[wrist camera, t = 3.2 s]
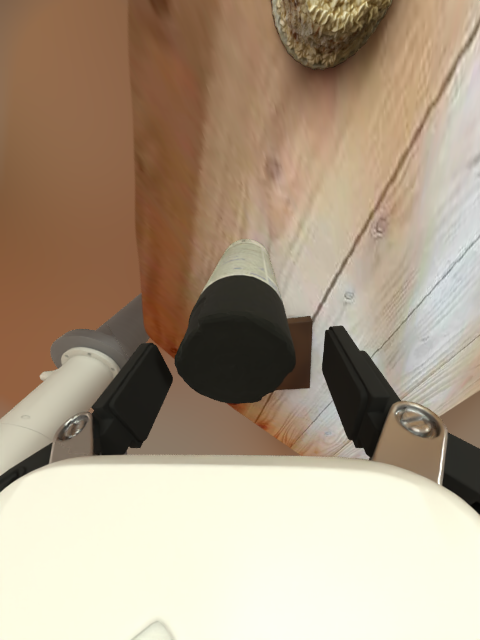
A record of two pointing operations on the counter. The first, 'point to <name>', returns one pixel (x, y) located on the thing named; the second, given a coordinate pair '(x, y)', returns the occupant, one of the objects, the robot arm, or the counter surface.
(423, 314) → the counter surface
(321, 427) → the counter surface
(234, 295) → the spray can
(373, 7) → the cake
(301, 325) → the chopping board
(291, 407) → the counter surface
